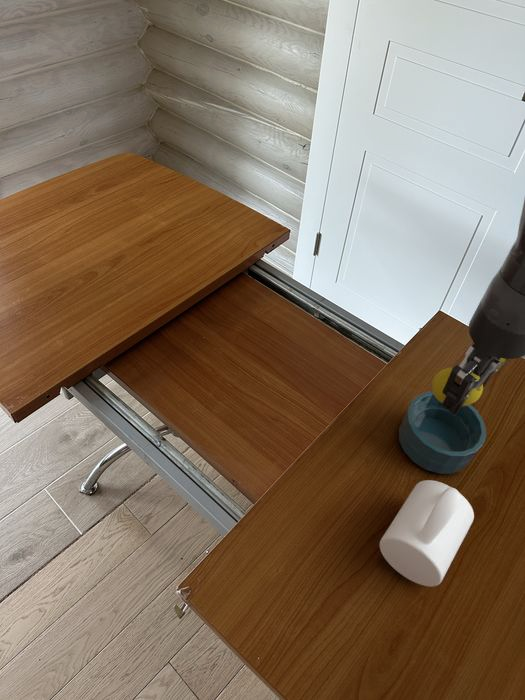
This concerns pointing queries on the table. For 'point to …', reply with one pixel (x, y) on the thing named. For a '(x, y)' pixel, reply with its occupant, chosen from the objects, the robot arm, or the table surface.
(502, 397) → the table surface
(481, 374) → the robot arm
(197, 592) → the table surface
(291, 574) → the table surface
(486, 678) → the table surface
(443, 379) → the lemon
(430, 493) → the mug
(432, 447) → the bowl
